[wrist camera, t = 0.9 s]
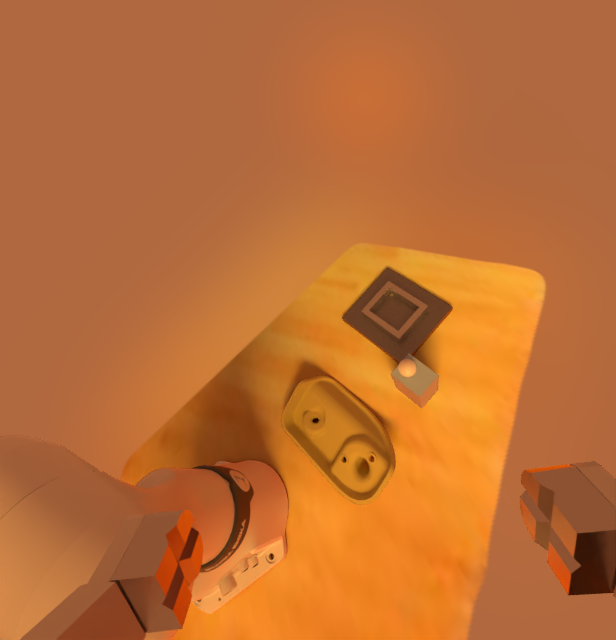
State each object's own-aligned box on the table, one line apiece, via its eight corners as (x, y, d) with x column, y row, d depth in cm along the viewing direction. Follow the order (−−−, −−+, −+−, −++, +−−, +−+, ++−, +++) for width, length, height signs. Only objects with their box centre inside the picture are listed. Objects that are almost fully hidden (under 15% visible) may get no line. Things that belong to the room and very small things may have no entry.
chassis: (403, 366, 58) (401, 361, 55) (343, 320, 65) (339, 314, 62) (452, 310, 59) (453, 302, 56) (388, 271, 66) (386, 262, 63)
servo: (422, 408, 54) (419, 395, 45) (396, 388, 57) (389, 371, 48) (438, 389, 54) (438, 372, 46) (412, 370, 57) (408, 350, 48)
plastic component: (277, 422, 59) (302, 375, 56) (304, 416, 64) (328, 373, 62) (361, 520, 47) (398, 467, 45) (385, 501, 53) (419, 453, 50)
